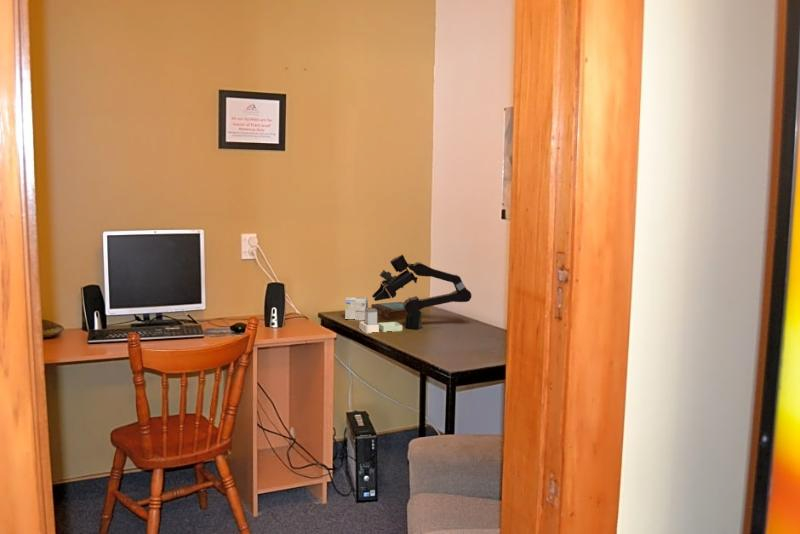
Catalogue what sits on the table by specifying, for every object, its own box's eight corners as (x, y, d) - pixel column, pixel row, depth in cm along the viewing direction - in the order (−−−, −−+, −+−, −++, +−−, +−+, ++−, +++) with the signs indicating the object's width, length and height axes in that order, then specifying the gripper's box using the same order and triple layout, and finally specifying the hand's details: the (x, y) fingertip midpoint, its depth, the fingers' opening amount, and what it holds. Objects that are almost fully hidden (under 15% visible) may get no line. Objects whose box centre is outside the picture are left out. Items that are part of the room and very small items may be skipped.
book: (371, 313, 375) (371, 303, 374) (401, 311, 382) (401, 301, 382) (388, 321, 354) (389, 311, 354) (420, 318, 362) (420, 309, 361)
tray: (395, 327, 337) (395, 321, 337) (402, 330, 329) (402, 325, 329) (377, 328, 334) (377, 322, 334) (383, 332, 326) (383, 326, 325)
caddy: (373, 329, 332) (373, 308, 330) (377, 331, 327) (377, 310, 326) (364, 329, 330) (364, 308, 329) (367, 332, 325) (368, 310, 324)
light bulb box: (368, 318, 358) (368, 297, 357) (366, 320, 352) (366, 299, 350) (347, 317, 359) (347, 296, 358) (344, 320, 353) (344, 298, 351)
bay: (372, 328, 334) (372, 320, 333) (378, 332, 325) (378, 324, 324) (359, 328, 332) (359, 321, 331) (365, 333, 322) (365, 325, 322)
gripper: (390, 263, 340) (362, 281, 339) (394, 268, 322) (365, 287, 321) (402, 282, 342) (375, 300, 341) (407, 288, 324) (378, 307, 323)
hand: (373, 298), depth 332 cm, fingers open, 9 cm apart
